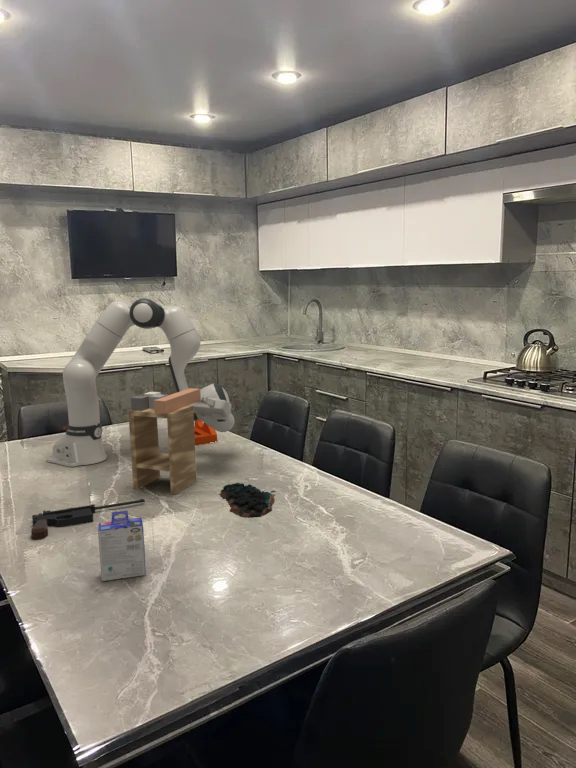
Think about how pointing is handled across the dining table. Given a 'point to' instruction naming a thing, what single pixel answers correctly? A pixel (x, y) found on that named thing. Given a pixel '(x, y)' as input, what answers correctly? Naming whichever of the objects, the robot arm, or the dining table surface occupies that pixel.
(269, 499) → the mineral specimen
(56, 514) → the firearm
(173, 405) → the terracotta bar
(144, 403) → the charcoal cube
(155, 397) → the slate cube
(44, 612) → the dining table surface
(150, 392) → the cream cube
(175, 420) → the oak shelf
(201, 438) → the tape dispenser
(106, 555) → the ink cartridge box
